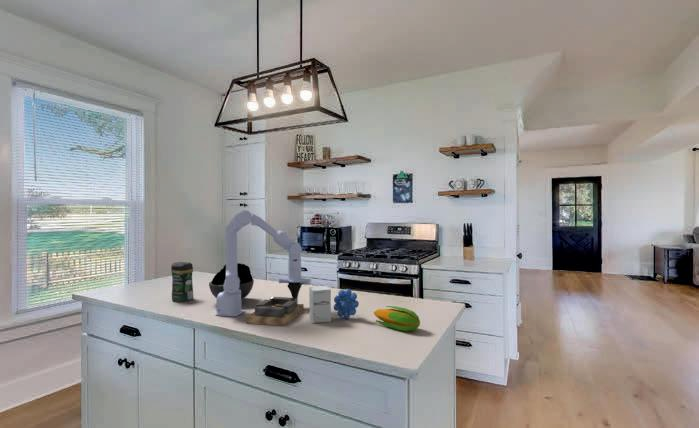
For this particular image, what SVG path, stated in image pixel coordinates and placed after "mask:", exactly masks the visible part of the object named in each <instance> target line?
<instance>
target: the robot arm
mask: <svg viewBox="0 0 699 428" xmlns="http://www.w3.org/2000/svg"><path fill="white" fill-rule="evenodd" d="M249 224H250V225H251V226H256V227H259V228H260V229H262V231H265V232H266V233H267V234H268V235H270V236H271V237H272V241H273V242H274V243H276V244H277V245H278V246H280V247H281V248H282V249H283V250H286V251H287V254H288V255H287V256H288V257H287V269H288V270H287V275H288V276H287V277H280V278H278V284H287V285H286V286H287V289H288V290H289V292H290V294H291V298H298V299H299V293H300V290H301V287H302V286H303V285H306V284H307V285H311V284H312V278H304V277H302V256H301V254H302V252H303V248H302V245H301V244H300V243H298V242H297V241H296V239H295V238H292V237H291V236H289V235H288V232H286V231H285V230H284V231H283V230H276V229H275V228H274V227H273V226H272V225H271V224H269V223H268V222H267V221H265V220H264V219H263V218H262V217H260V216H258V215H257V214H255V213H251V212H250V210H247V209H241V210H240V211H238V212H237V213H236V214H234V215H233V217H232V218H231V220H230V221H229V223H228V224H227V226H226V227H225V264H226V279H225V283H224V285H223V288H224V291H223V292H220V293H219V294H218V296H217V298H216V313H215V316H219V317H220V316H223V317H238V316H239V315H241V314H243V313H244V312H246V309H242V300H241V290H240V289H239V287H240V285H239V284H240V279H239V277H238V272H237V263H238V232H239V231H240V230H242V228H244V227H246V226H248V225H249Z"/></svg>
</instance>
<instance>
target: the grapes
mask: <svg viewBox="0 0 699 428" xmlns="http://www.w3.org/2000/svg"><path fill="white" fill-rule="evenodd" d="M337 293H338V294H337V295H335V296H334V298H333V302H334V305H333V310H334V311H337V312H336V313H337V315H336V316H338V317H340V318H342V317H343V318H344V319H345V320H346V319H349V318H350V317H351V316H354V315H356V312H357V309H356V308H358V307H359V305H360V302H359V301H358V300H357V298H358V295H357V293H356V292H352V289H351V288H346V289H345V290H344V289H340V290H339V291H338V292H337Z"/></svg>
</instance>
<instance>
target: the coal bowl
mask: <svg viewBox="0 0 699 428" xmlns="http://www.w3.org/2000/svg"><path fill="white" fill-rule="evenodd" d="M237 272H238V277H239V279H240V284H239V285H240V287H239V289H240V290H241V301H242V300H244V299H246V298H247V296H249V294H250V293H251V292H252V289H253V286H254V282H255V280H254V279H253V276H252V273H251V268H250V266H249V265H247V264H245V263H241V262H237ZM225 279H226V263H225V264H224V265H223V268H221V269H220V270H219V271H218V272H217V273H216V274H214V276H213V278H212V280H211V281H209V283H208V288H209V291H210V293H211V294H212V296H213V297H214V298H215V299H217V296H218V294H219V293H220V292H223V291H224V288H223V285H224V283H225Z"/></svg>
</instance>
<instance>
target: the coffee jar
mask: <svg viewBox="0 0 699 428" xmlns="http://www.w3.org/2000/svg"><path fill="white" fill-rule="evenodd" d="M170 267H171V268H170V272H171V277H172V278H171V279H172V283H171V285H172V286H171V300H172V301H175V302H186V301H187V302H189V301H191V300H192V299H194V284H193V271H194V268H193V267H194V266H193V263H192V262H187V261H177V262H173V263H172V264H171V266H170Z"/></svg>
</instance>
